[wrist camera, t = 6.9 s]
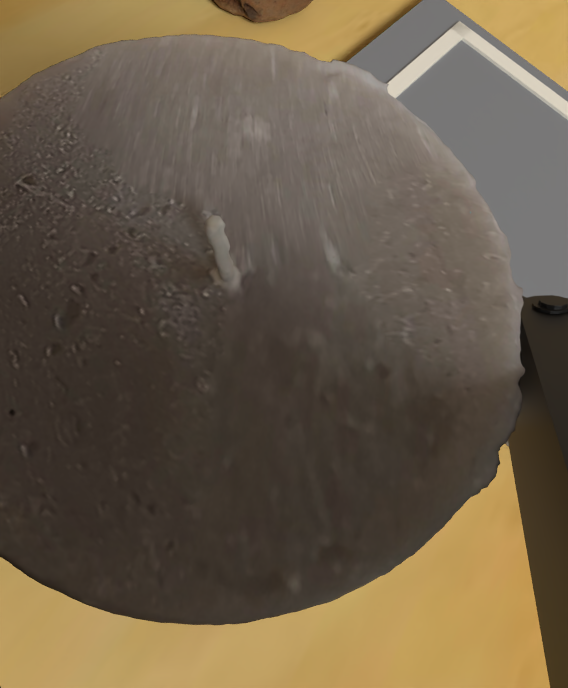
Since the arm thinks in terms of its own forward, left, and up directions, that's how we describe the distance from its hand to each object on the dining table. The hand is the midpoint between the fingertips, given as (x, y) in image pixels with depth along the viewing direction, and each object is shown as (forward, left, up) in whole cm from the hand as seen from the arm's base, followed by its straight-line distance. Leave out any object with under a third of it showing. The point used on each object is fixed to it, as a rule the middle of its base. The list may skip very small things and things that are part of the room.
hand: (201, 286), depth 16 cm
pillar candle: (+3, -2, -7) cm, 7 cm away
